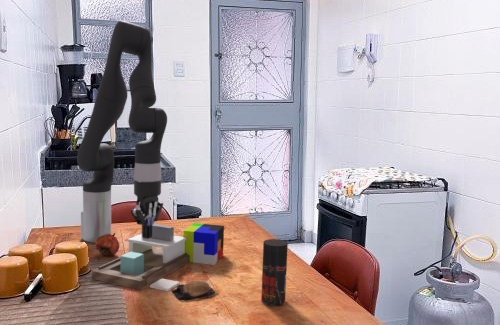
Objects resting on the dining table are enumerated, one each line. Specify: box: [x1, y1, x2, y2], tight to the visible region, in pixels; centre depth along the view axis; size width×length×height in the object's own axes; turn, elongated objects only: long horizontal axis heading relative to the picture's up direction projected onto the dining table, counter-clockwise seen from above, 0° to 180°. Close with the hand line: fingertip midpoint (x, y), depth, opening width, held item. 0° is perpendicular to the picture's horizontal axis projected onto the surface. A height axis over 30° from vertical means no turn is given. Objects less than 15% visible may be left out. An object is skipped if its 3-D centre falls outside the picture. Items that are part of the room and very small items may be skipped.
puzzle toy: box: [182, 222, 225, 266], centre depth 149 cm, size 10×10×10 cm
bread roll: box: [171, 280, 219, 302], centre depth 122 cm, size 11×8×4 cm
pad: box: [149, 278, 180, 292], centre depth 126 cm, size 6×6×1 cm
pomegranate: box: [95, 232, 120, 260], centre depth 148 cm, size 7×7×10 cm
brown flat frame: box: [91, 247, 191, 290], centre depth 138 cm, size 16×25×3 cm, turn 157°
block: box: [119, 251, 144, 276], centre depth 132 cm, size 4×4×6 cm
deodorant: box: [260, 238, 289, 307], centre depth 118 cm, size 6×6×15 cm
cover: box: [127, 223, 186, 263], centre depth 143 cm, size 14×10×9 cm
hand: (147, 237), depth 138 cm, fingers closed
